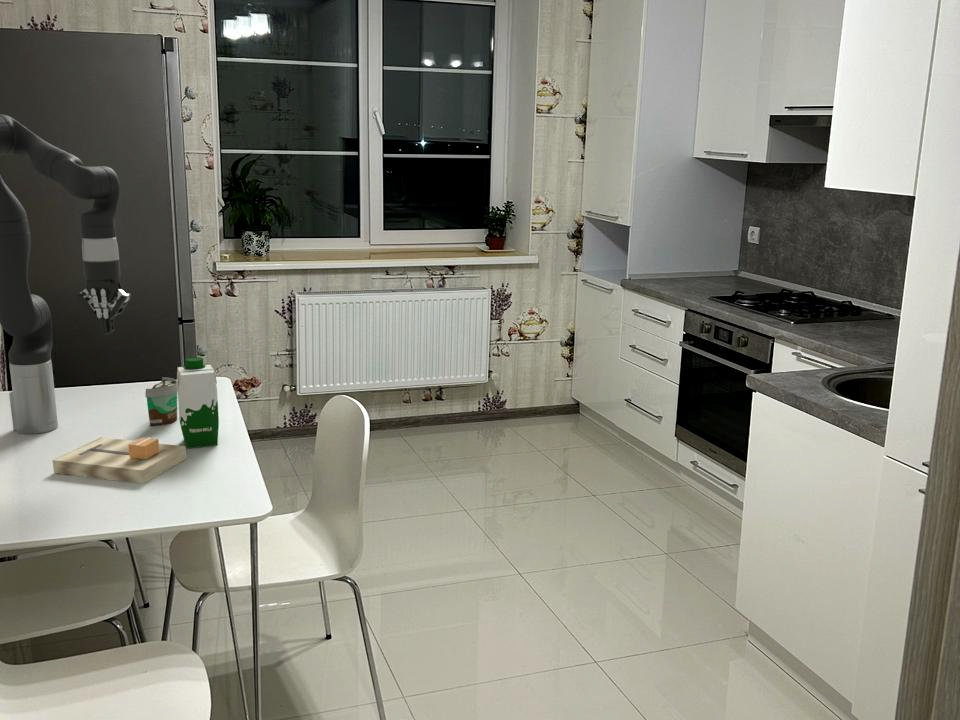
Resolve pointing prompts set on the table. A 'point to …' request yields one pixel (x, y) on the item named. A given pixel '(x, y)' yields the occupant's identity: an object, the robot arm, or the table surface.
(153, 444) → the fader knob
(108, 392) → the table surface
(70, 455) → the fader console
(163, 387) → the food container
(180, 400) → the milk carton
